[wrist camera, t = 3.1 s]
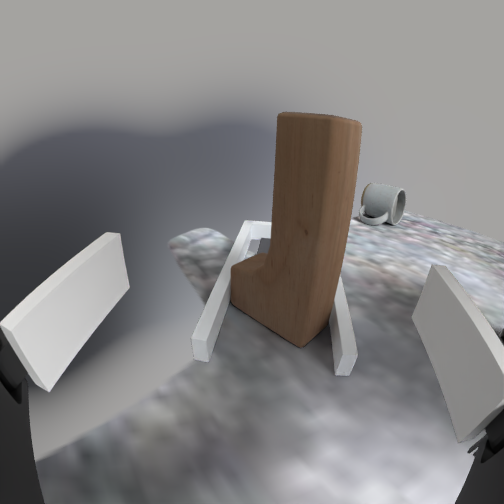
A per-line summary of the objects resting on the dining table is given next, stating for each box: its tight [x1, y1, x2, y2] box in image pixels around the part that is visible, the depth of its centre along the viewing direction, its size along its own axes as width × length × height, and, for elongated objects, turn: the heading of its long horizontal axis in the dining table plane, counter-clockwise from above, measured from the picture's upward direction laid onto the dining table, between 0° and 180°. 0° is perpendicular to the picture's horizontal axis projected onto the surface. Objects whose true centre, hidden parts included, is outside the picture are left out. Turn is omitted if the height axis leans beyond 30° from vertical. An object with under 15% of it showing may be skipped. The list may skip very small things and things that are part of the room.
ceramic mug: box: [359, 183, 406, 225], centre depth 51 cm, size 11×8×8 cm
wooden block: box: [231, 112, 362, 348], centre depth 22 cm, size 9×4×18 cm, turn 45°
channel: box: [191, 220, 358, 376], centre depth 30 cm, size 12×25×2 cm, turn 172°
